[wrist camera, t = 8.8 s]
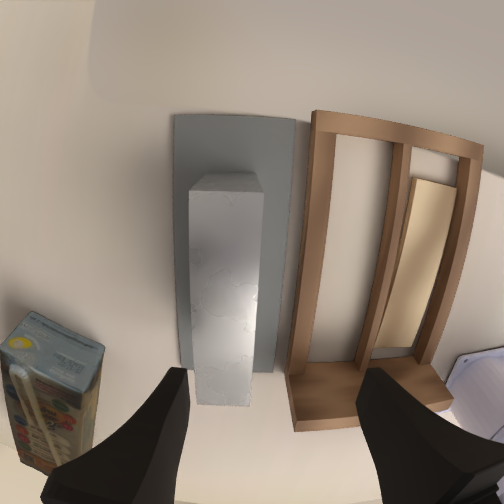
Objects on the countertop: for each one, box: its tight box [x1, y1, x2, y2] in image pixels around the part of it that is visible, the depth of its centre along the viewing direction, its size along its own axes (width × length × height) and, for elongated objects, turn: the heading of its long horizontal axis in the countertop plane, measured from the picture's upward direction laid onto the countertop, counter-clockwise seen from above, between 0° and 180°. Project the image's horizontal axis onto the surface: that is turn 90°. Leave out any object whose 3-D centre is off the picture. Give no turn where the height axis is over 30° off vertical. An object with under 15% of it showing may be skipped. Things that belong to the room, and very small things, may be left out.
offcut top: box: [373, 178, 457, 348], centre depth 21 cm, size 4×13×1 cm, turn 174°
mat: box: [173, 115, 296, 373], centre depth 21 cm, size 7×18×1 cm, turn 177°
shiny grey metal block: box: [189, 171, 264, 406], centre depth 17 cm, size 3×11×7 cm, turn 177°
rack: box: [284, 110, 484, 432], centre depth 18 cm, size 12×19×6 cm, turn 177°
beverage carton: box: [0, 312, 105, 476], centre depth 22 cm, size 8×19×7 cm, turn 156°
